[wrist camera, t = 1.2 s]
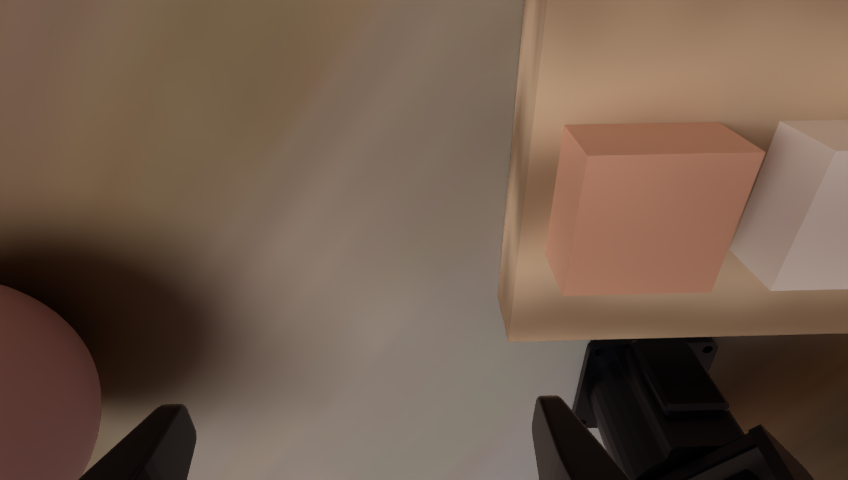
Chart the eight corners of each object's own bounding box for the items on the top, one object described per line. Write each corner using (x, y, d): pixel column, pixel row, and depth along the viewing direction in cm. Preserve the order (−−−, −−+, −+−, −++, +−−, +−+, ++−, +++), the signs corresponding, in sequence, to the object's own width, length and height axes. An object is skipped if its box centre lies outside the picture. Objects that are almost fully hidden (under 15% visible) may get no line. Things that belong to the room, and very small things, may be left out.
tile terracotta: (677, 250, 19) (711, 292, 16) (544, 253, 19) (562, 296, 16) (718, 122, 16) (765, 152, 14) (564, 124, 16) (587, 155, 14)
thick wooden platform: (829, 288, 24) (879, 332, 21) (497, 296, 23) (508, 341, 21) (1015, -49, 16) (1128, -43, 14) (528, -42, 16) (551, -35, 13)
